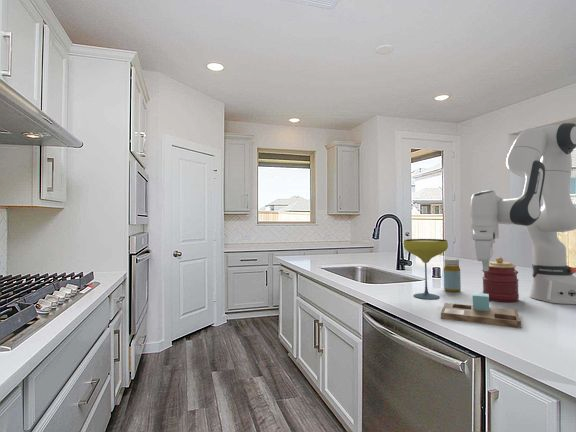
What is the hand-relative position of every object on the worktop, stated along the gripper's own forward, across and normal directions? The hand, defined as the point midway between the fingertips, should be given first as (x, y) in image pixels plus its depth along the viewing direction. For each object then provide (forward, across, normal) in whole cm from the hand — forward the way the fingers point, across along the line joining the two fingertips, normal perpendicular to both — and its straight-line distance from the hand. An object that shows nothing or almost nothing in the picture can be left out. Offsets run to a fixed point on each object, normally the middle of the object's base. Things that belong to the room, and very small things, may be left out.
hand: (486, 270), depth 126 cm
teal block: (+13, +8, -1) cm, 15 cm away
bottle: (+15, -29, -17) cm, 37 cm away
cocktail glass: (+15, -10, -24) cm, 30 cm away
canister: (+15, -22, +3) cm, 27 cm away
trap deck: (+15, +12, -2) cm, 19 cm away
